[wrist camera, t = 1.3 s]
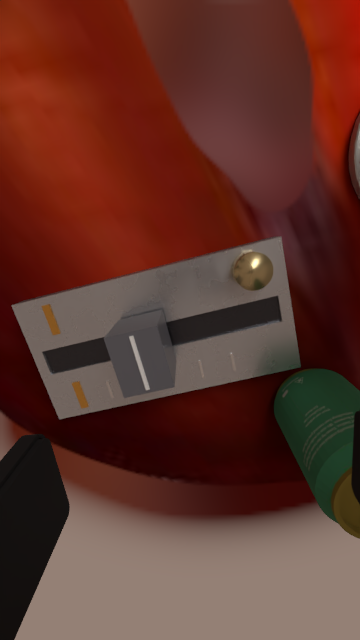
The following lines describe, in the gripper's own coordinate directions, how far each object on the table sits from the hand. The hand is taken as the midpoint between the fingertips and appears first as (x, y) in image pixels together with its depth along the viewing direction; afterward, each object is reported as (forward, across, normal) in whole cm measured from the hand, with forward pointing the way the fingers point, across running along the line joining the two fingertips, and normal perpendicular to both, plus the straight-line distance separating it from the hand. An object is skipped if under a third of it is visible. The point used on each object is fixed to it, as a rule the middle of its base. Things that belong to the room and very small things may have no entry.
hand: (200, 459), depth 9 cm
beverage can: (+20, -11, +11) cm, 25 cm away
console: (+19, +4, +2) cm, 20 cm away
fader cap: (+17, +4, +2) cm, 17 cm away
